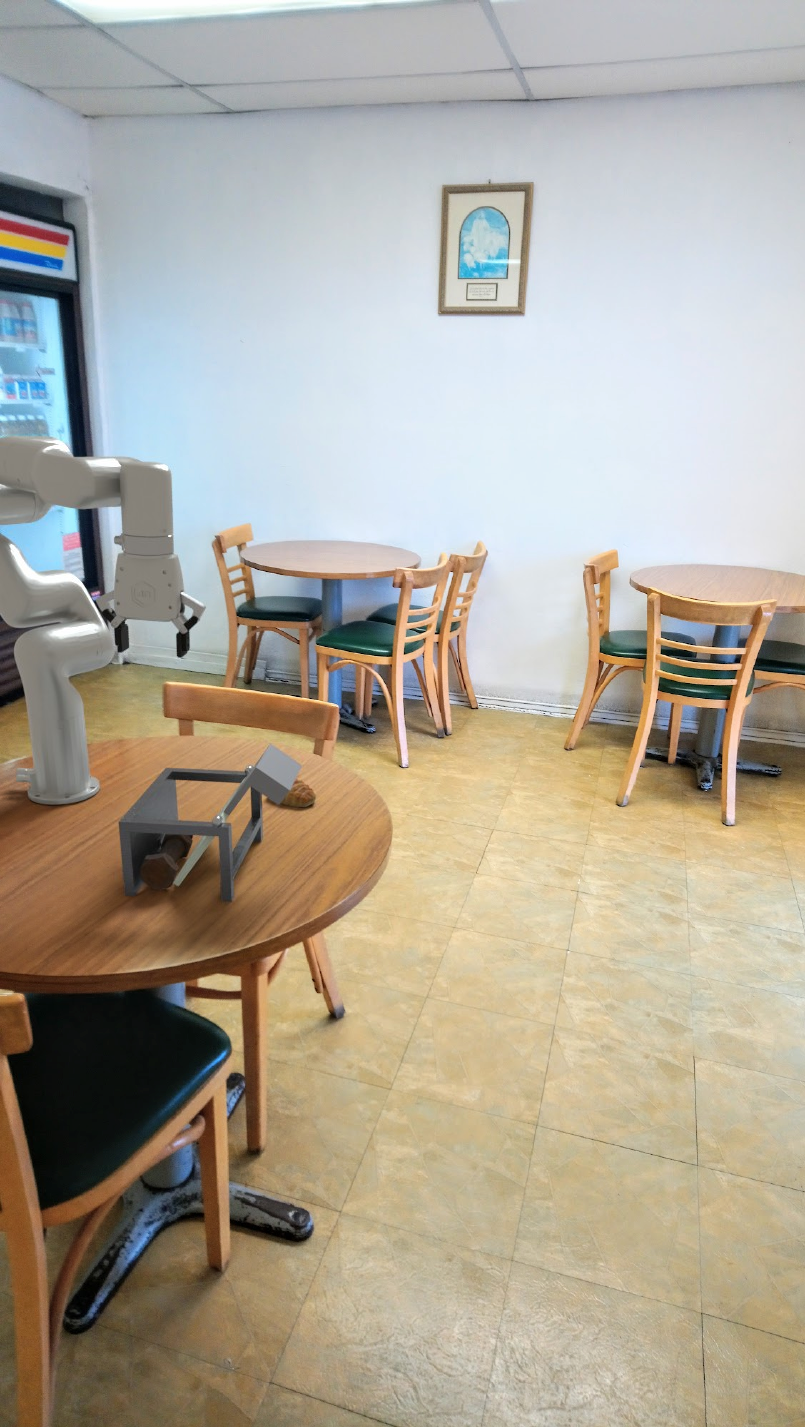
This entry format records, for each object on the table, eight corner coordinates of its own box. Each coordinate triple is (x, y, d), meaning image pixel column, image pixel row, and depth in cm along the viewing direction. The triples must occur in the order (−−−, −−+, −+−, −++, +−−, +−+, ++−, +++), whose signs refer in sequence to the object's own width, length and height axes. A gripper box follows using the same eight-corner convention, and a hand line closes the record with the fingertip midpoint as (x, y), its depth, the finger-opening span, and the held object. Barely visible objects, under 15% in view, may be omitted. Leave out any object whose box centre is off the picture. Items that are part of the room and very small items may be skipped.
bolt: (198, 816, 142) (172, 856, 128) (204, 844, 143) (179, 887, 129) (163, 821, 142) (134, 861, 128) (170, 849, 144) (141, 891, 129)
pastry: (324, 801, 162) (324, 782, 161) (299, 813, 157) (299, 794, 156) (289, 788, 168) (288, 770, 167) (263, 799, 163) (262, 780, 161)
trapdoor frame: (124, 895, 128) (117, 814, 124) (170, 832, 148) (165, 760, 144) (231, 901, 127) (228, 819, 123) (263, 837, 147) (260, 765, 143)
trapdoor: (206, 904, 130) (172, 882, 129) (235, 851, 146) (205, 831, 145) (285, 800, 123) (250, 776, 123) (306, 756, 140) (275, 735, 139)
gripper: (83, 545, 130) (90, 654, 136) (195, 553, 129) (198, 663, 135) (104, 538, 137) (110, 642, 143) (210, 546, 136) (212, 651, 142)
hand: (152, 652), depth 139 cm, fingers open, 9 cm apart
